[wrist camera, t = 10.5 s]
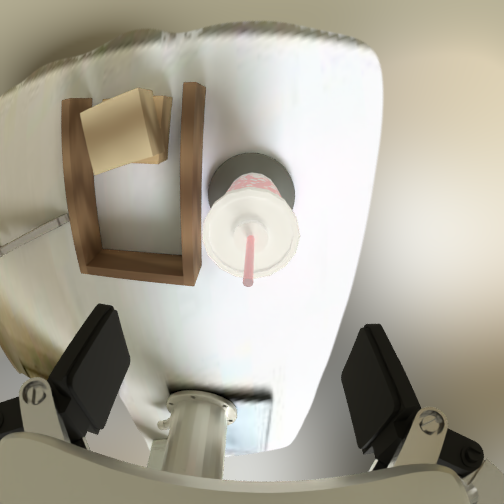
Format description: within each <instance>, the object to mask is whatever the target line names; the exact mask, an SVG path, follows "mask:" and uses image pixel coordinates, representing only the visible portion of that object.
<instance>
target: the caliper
mask: <svg viewBox="0 0 504 504" xmlns="http://www.w3.org/2000/svg"><path fill="white" fill-rule="evenodd" d="M69 221H70V219H69V217H68V214H67V213H66V214H64V215H62V216H60V217H57V218H55V219H53V220H51V221H49V222H47V223H45V224H43V225H41V226H39V227H37V228H35V229H34V230H32V231H30V232H28V233H26V234H24V235H22V236H21V237H19V238H17V239H15V240H13V241H12V242H10V243H7V244H6V245H4V246H2V247H1V246H0V257H2V256H3V255H5V254H6V253H8V252H10V251H12V250H14V249H16V248H17V247H19V246H21V245H23V244H25V243H27V242H29V241H31V240H33V239H35V238H37V237H39V236H41V235H43V234H45V233H47V232H49V231H51V230H53V229H55V228H57V227H59V226H61V225H63V224H65V223H67V222H69Z"/></svg>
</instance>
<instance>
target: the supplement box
mask: <svg viewBox="0 0 504 504" xmlns="http://www.w3.org/2000/svg"><path fill="white" fill-rule="evenodd" d="M167 440H168V439H164V440H153V443H152V447H151V451H150V456H149V460H148V465H147V468H151V469H156V470H160V471H161V468H162V463H163V458H164V454H165V449H166V444H167Z"/></svg>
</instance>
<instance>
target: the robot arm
mask: <svg viewBox="0 0 504 504" xmlns="http://www.w3.org/2000/svg"><path fill="white" fill-rule="evenodd" d="M129 365H130V355H129V352H128V349H127V346H126V342H125V339H124V335H123V331H122V328H121V324H120V320H119V316H118V313H117V311H116V310H114V308H113V306H111V305H105V304H98V305H97V306H96V307H95V308H94V310H93V311H92V312H91V314H90V315H89V317H88V318H87V319H86V321H85V322H84V324H83V325H82V327H81V328H80V329H79V331H78V332H77V334H76V335H75V337H74V338H73V340H72V341H71V343H70V344H69V346H68V347H67V349H66V350H65V352H64V353H63V355H62V356H61V358H60V360H59V361H58V363H57V364H56V366H55V367H54V369H53V371H52V372H51V374H50V376H49V378H48V380H47V381H46V380H44V379H43V378H38V377H36V378H31V379H29V380H27V381H26V382H25V383H23V385H22V386H21V388H20V391H19V397H16V398H13V399H10V400H7V401H4V402H1V403H0V504H504V474H503V473H502V472H501V471H500V470H499V469H498V468H497V467H496V466H495V465H494V464H492V463H491V462H490V461H489V460H488V459H486V460H484V459H483V458H484V454H483V450H482V448H481V446H480V445H479V444H478V443H477V442H475V441H473V440H471V439H469V438H467V437H465V436H462V435H460V434H458V433H456V432H454V431H452V430H450V429H448V428H447V427H448V422H447V418H446V416H445V415H444V414H443V412H442V411H440V410H439V409H437V408H434V407H425V408H422V409H421V407H420V404H419V402H418V400H417V397H416V395H415V393H414V390H413V388H412V386H411V384H410V382H409V380H408V377H407V375H406V373H405V371H404V369H403V367H402V365H401V362H400V361H399V359H398V357H397V355H396V353H395V351H394V349H393V347H392V345H391V343H390V341H389V339H388V337H387V335H386V333H385V332H384V330H383V328H382V326H381V325H380V324H366V325H365V326H364V328H361V329H360V331H359V333H358V336H357V339H356V341H355V343H354V346H353V348H352V351H351V353H350V355H349V358H348V360H347V362H346V365H345V367H344V369H343V372H342V375H341V380H342V384H343V388H344V391H345V395H346V399H347V403H348V407H349V411H350V415H351V419H352V423H353V427H354V432H355V436H356V440H357V444H358V447H359V448H360V449H362V451H363V454H370V453H374V454H375V458H376V460H375V461H374V463H373V465H372V466H371V468H370V470H369V471H368V472H365V473H359V474H353V475H346V476H339V477H332V478H324V479H314V480H301V481H275V482H258V481H257V482H256V481H234V480H223V470H224V458H225V446H226V434H227V425H230V424H232V423H233V422H234V421H235V420H236V418H237V409H236V407H235V406H234V405H233V404H232V403H231V402H230V401H228V400H227V399H225V398H223V397H221V396H218V395H216V394H212V393H209V392H204V391H196V390H185V391H179V392H176V393H173V394H172V395H170V396H169V398H168V400H167V404H166V405H167V409H168V411H169V412H170V413H171V416H170V418H168V419H167V420H163V421H159V422H158V428H159V429H160V430H166V429H170V430H169V435H168V440H167V444H166V449H165V454H164V458H163V463H162V468H161V471H160V470H156V469H151V468H147V467H143V466H139V465H135V464H131V463H128V462H124V461H120V460H117V459H114V458H111V457H108V456H105V455H102V454H98V453H96V452H93V451H91V450H90V448H89V446H88V443H87V441H86V438H85V435H86V433H87V431H89V432H91V433H94V434H97V435H98V433H99V430H100V429H103V428H104V426H105V424H106V421H107V419H108V416H109V414H110V411H111V408H112V406H113V403H114V401H115V398H116V396H117V394H118V391H119V389H120V386H121V384H122V381H123V379H124V377H125V374H126V372H127V370H128V367H129Z"/></svg>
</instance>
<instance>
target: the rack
mask: <svg viewBox="0 0 504 504" xmlns="http://www.w3.org/2000/svg"><path fill="white" fill-rule="evenodd" d="M205 92H206V87H204V86H202V85H201V84H199V83H197V82H184V83H183V98H182V117H181V147H180V210H181V241H182V255H171V254H158V253H146V252H134V251H122V250H110V249H103V248H102V242H101V236H100V229H99V223H98V215H97V207H96V198H95V188H94V176H93V168H92V164H91V161H90V157H89V153H88V149H87V144H86V140H85V136H84V131H83V126H82V122H81V117H80V113H81V112H83V111H85V110H87V109H89V108H91V107H92V98H69V99H65V100H62V116H61V128H62V156H63V170H64V181H65V190H66V198H67V205H68V212H69V218H70V224H71V230H72V235H73V240H74V245H75V250H76V254H77V259H78V263H79V267H80V271H81V273H83V274H91V275H98V276H106V277H114V278H122V279H130V280H139V281H147V282H157V283H166V284H176V285H186V286H194V285H195V283H196V280H197V277H198V274H199V271H200V268H201V265H202V261H201V185H202V149H203V126H204V108H205Z"/></svg>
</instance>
